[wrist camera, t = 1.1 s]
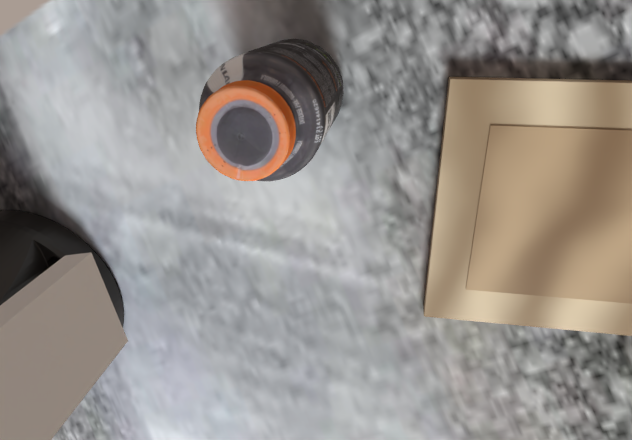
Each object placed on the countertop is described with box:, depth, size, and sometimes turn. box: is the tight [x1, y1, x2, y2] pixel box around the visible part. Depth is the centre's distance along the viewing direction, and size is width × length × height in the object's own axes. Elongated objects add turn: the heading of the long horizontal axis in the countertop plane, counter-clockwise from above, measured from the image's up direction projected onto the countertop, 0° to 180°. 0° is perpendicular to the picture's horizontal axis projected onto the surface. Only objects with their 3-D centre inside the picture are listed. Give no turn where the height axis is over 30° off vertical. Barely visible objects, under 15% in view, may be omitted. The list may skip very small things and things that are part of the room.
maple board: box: [423, 77, 632, 336], centre depth 29 cm, size 16×16×1 cm
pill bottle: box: [196, 39, 343, 181], centre depth 24 cm, size 6×6×11 cm
